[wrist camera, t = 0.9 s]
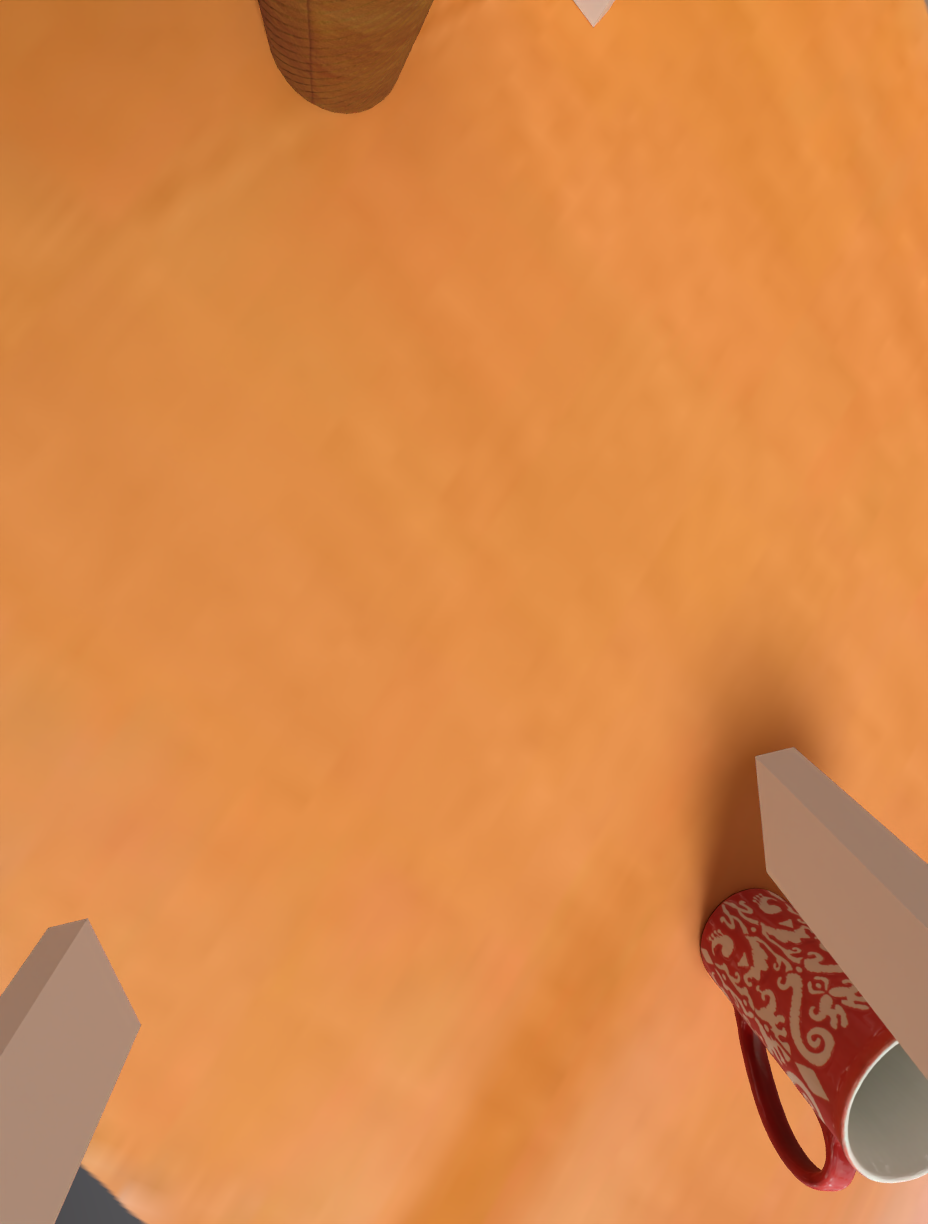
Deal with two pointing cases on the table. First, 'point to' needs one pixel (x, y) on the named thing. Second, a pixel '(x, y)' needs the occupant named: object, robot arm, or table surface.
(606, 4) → the low wall
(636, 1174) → the table surface
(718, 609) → the table surface
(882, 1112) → the mug
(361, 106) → the disposable coffee cup
